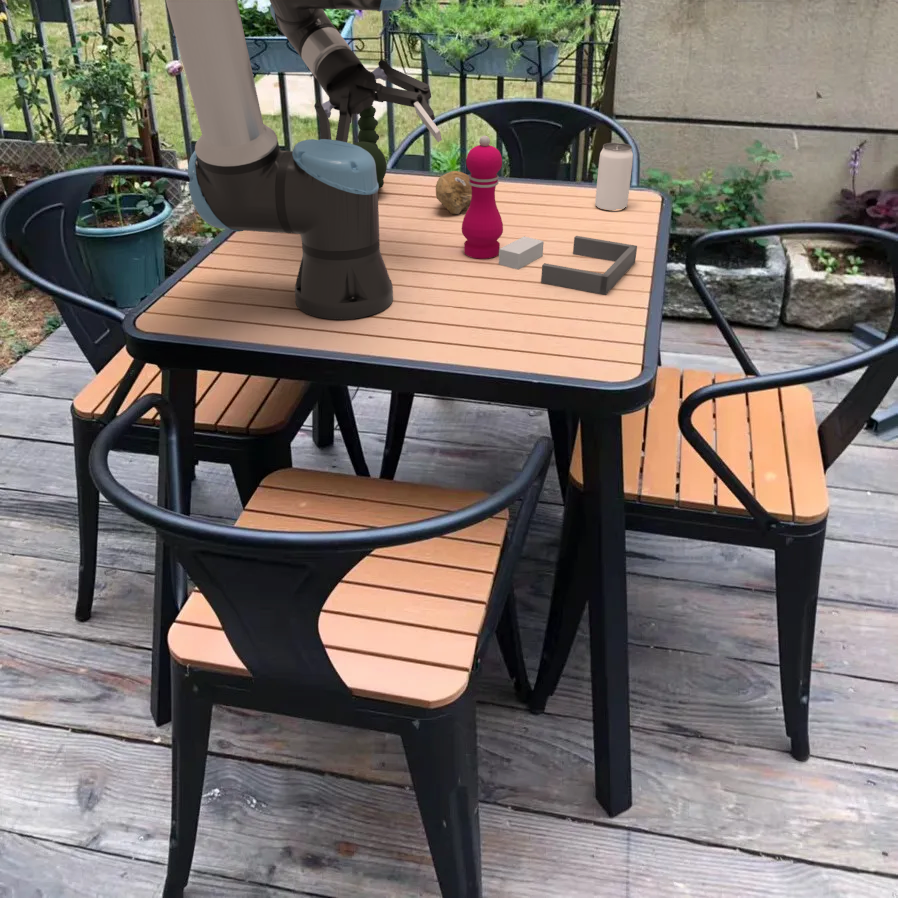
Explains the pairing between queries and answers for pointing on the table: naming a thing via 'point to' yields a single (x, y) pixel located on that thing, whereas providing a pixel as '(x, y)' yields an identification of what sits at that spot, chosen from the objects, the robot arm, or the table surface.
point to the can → (614, 176)
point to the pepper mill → (483, 202)
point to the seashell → (454, 191)
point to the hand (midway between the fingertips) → (403, 160)
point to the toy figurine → (371, 141)
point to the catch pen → (586, 279)
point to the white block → (520, 252)
